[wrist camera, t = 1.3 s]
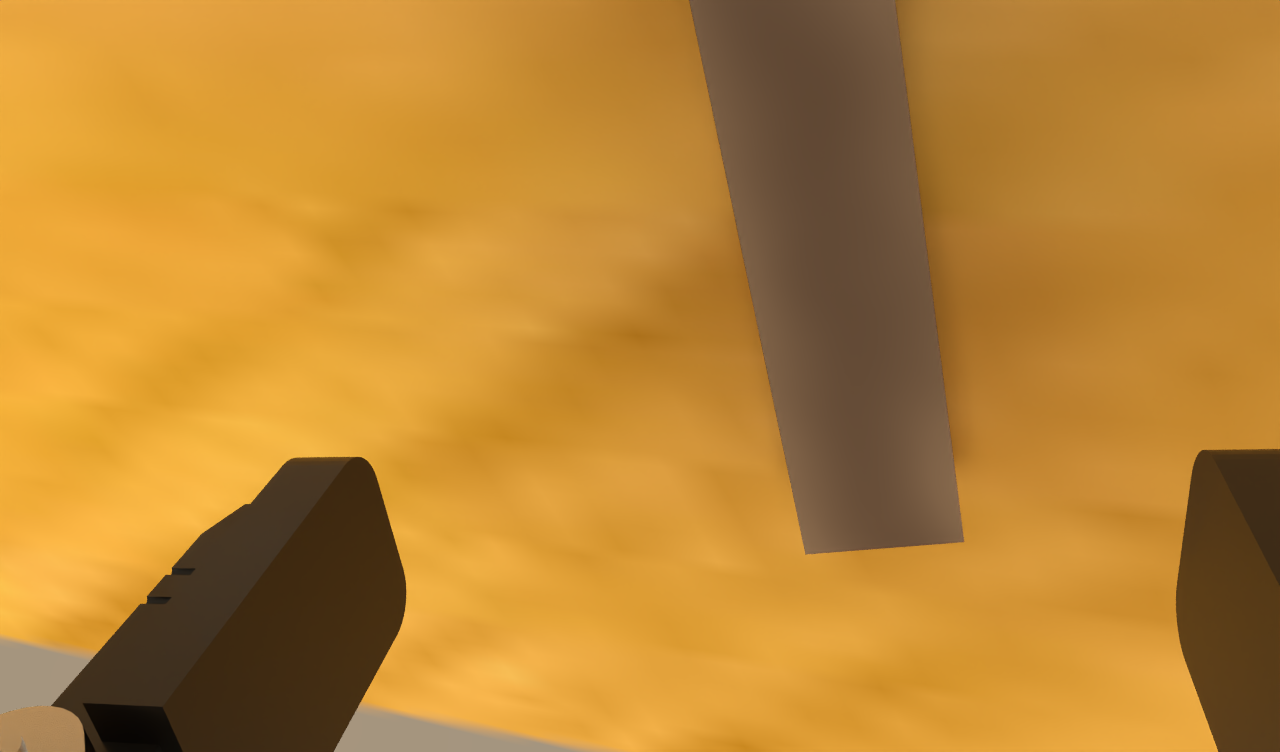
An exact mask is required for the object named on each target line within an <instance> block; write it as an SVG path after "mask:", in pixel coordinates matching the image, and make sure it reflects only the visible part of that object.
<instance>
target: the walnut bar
mask: <svg viewBox="0 0 1280 752" xmlns="http://www.w3.org/2000/svg"><path fill="white" fill-rule="evenodd" d="M689 1H690V6H691V11H692V16H693V20H694V25H695V30H696V35H697V39H698V44H699V49H700V54H701V58H702V63H703V68H704V73H705V77H706V82H707V87H708V92H709V97H710V101H711V106H712V111H713V116H714V120H715V125H716V130H717V135H718V139H719V144H720V149H721V154H722V159H723V163H724V168H725V173H726V178H727V182H728V187H729V192H730V197H731V201H732V206H733V211H734V216H735V220H736V225H737V230H738V235H739V240H740V244H741V249H742V254H743V259H744V263H745V268H746V273H747V278H748V282H749V287H750V292H751V297H752V301H753V306H754V311H755V316H756V321H757V325H758V330H759V335H760V340H761V344H762V349H763V354H764V359H765V363H766V368H767V373H768V378H769V382H770V387H771V392H772V397H773V402H774V406H775V411H776V416H777V421H778V425H779V430H780V435H781V440H782V444H783V449H784V454H785V459H786V463H787V468H788V473H789V478H790V483H791V487H792V492H793V497H794V502H795V506H796V511H797V516H798V521H799V525H800V530H801V535H802V540H803V545H804V549H805V554H816V553H829V552H842V551H855V550H868V549H881V548H893V547H906V546H919V545H932V544H945V543H957V542H964V537H963V530H962V522H961V514H960V506H959V498H958V490H957V483H956V475H955V467H954V459H953V451H952V443H951V436H950V428H949V420H948V412H947V404H946V396H945V389H944V381H943V373H942V365H941V357H940V349H939V342H938V334H937V326H936V318H935V310H934V302H933V295H932V287H931V279H930V271H929V263H928V255H927V248H926V240H925V232H924V224H923V216H922V208H921V200H920V193H919V185H918V177H917V169H916V161H915V153H914V146H913V138H912V130H911V122H910V114H909V106H908V99H907V91H906V83H905V75H904V67H903V59H902V52H901V44H900V36H899V28H898V20H897V12H896V5H895V0H689Z"/></svg>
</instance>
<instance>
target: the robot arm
mask: <svg viewBox="0 0 1280 752" xmlns="http://www.w3.org/2000/svg"><path fill="white" fill-rule="evenodd" d="M405 605H406V581H405V575H404V570H403V567H402V563H401V560H400V556H399V553H398V550H397V546H396V543H395V539H394V536H393V532H392V529H391V525H390V522H389V519H388V515H387V512H386V508H385V505H384V501H383V498H382V494H381V491H380V488H379V484H378V481H377V478H376V475H375V472H374V470H373V468H372V466H371V465H370V464H369V462H368V461H367V460H365V459H364V458H361V457H312V458H293V459H290V460H289V461H287V462H286V463H285V464H284V465H283V466H282V467H281V468H280V470H279V471H278V472H277V473H276V474H275V475H274V477H273V478H272V479H271V480H270V481H269V483H268V484H267V485H266V486H265V487H264V489H263V490H262V491H261V492H260V493H259V494H258V496H257V497H256V498H255V499H254V500H253V502H252V503H251V504H245V505H243V506H242V507H240V508H239V509H237V510H236V511H235V512H233V513H232V514H230V515H229V516H227V517H226V518H224V519H223V520H221V521H220V522H218V523H217V524H216V525H214V526H213V527H211V528H210V529H208V530H207V531H205V532H204V533H202V534H201V535H200V536H199V538H198V539H197V540H196V541H195V542H194V543H193V544H192V546H191V547H190V548H189V549H188V550H187V551H186V552H185V554H184V555H183V556H182V557H181V558H180V559H179V560H178V562H177V563H176V564H175V565H174V566H173V567H172V574H171V575H165V576H164V578H163V579H162V580H161V581H160V582H159V583H158V584H157V586H156V587H155V588H154V589H153V590H152V591H151V592H150V594H149V595H148V596H147V603H146V604H140V605H139V606H138V607H137V608H136V610H135V611H134V612H133V613H132V614H131V615H130V616H129V618H128V619H127V620H126V621H125V622H124V623H123V624H122V626H121V627H120V628H119V629H118V630H117V631H116V632H115V634H114V635H113V636H112V637H111V638H110V639H109V640H108V642H107V643H106V644H105V645H104V646H103V647H102V648H101V649H100V651H99V652H98V653H97V654H96V655H95V656H94V657H93V659H92V660H91V661H90V662H89V663H88V664H87V666H86V667H85V668H84V669H83V670H82V671H81V672H80V673H79V675H78V676H77V677H76V678H75V679H74V680H73V682H72V683H71V684H70V685H69V686H68V687H67V688H66V690H65V691H64V692H63V693H62V694H61V695H60V696H59V698H58V699H57V700H56V701H55V702H54V703H53V704H52V705H51V706H35V707H27V708H22V709H18V710H13V711H9V712H6V713H3V714H0V752H334V750H335V748H336V746H337V744H338V743H339V741H340V739H341V737H342V735H343V733H344V731H345V730H346V728H347V726H348V724H349V722H350V720H351V719H352V717H353V715H354V713H355V711H356V709H357V708H358V706H359V704H360V702H361V700H362V698H363V697H364V695H365V693H366V691H367V689H368V687H369V686H370V684H371V682H372V680H373V678H374V676H375V675H376V673H377V671H378V669H379V667H380V665H381V664H382V662H383V660H384V658H385V656H386V654H387V652H388V651H389V649H390V647H391V645H392V643H393V641H394V640H395V638H396V636H397V634H398V632H399V630H400V627H401V624H402V621H403V617H404V612H405ZM1176 613H1177V625H1178V632H1179V638H1180V643H1181V648H1182V652H1183V655H1184V658H1185V661H1186V664H1187V667H1188V670H1189V672H1190V675H1191V678H1192V680H1193V683H1194V686H1195V689H1196V691H1197V694H1198V697H1199V700H1200V702H1201V705H1202V708H1203V711H1204V713H1205V716H1206V719H1207V721H1208V724H1209V727H1210V730H1211V732H1212V735H1213V738H1214V741H1215V743H1216V746H1217V749H1218V752H1280V449H1258V450H1202V451H1201V452H1199V454H1198V455H1197V457H1196V460H1195V462H1194V466H1193V470H1192V476H1191V484H1190V491H1189V499H1188V506H1187V513H1186V521H1185V528H1184V536H1183V543H1182V551H1181V558H1180V566H1179V573H1178V581H1177V590H1176Z"/></svg>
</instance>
